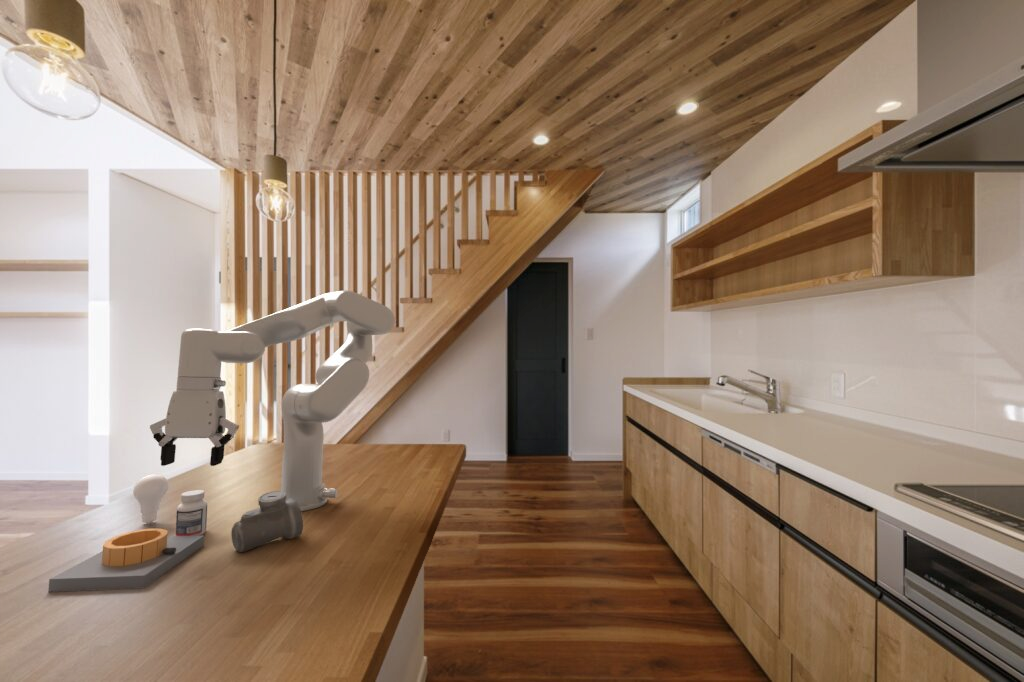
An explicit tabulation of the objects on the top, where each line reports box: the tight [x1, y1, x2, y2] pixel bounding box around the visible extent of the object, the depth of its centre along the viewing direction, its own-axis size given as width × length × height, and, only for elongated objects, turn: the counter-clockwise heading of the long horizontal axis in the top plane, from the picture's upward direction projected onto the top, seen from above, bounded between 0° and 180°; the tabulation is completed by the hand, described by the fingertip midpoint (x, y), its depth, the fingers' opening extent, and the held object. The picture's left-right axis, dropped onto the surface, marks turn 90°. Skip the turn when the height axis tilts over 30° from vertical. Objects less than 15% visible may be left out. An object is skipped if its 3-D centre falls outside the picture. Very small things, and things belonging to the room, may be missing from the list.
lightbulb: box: [133, 473, 169, 525], centre depth 95 cm, size 6×6×11 cm
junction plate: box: [47, 527, 205, 593], centre depth 76 cm, size 14×16×5 cm
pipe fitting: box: [230, 490, 304, 553], centre depth 86 cm, size 12×8×10 cm
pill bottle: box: [175, 489, 208, 536], centre depth 90 cm, size 5×5×9 cm
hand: (192, 464), depth 90 cm, fingers open, 9 cm apart
